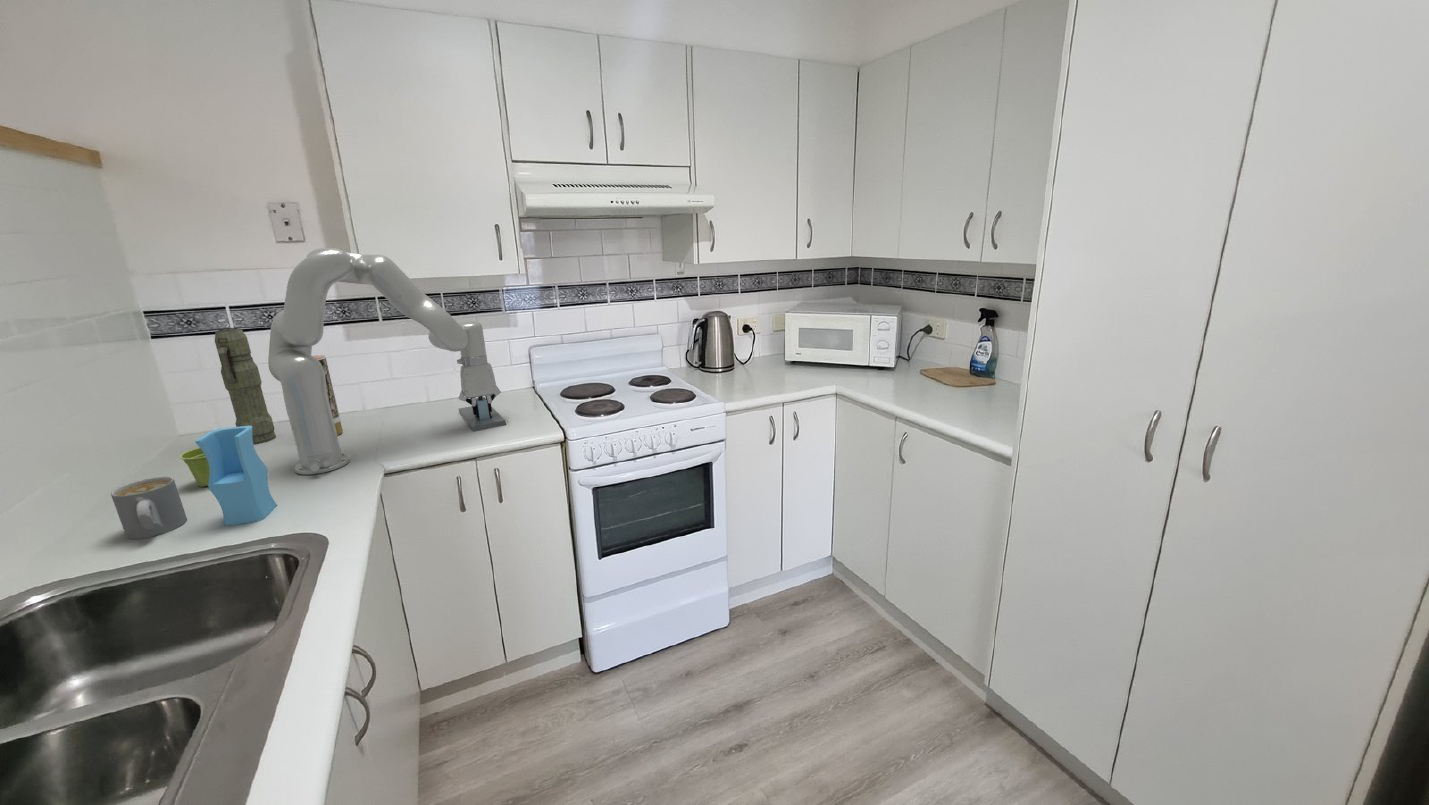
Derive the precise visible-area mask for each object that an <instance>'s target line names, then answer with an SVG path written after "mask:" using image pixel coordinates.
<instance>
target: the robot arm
mask: <svg viewBox="0 0 1429 805" xmlns="http://www.w3.org/2000/svg"><path fill="white" fill-rule="evenodd" d="M337 282H338V283H345V284H346V283H347V284H355V285H356V284H359V285H368V286H369V285H371V286H373V287H374V288H375V290H377V291H378V292H379V293H380V294H382V296H383V298H385V299H387V301H388V302H389V303H390V304H391V305H392V306H393V307H395V309H396V310H397V311H399V312H400V313H401V314H403V315H404V316H405V317H406V318H409V319H411V320H413V321H415V322H416V323H418V324H420V325H422V326H423V327H425V329H427V330H429V332H428V340H429V342H430V344H431V345H432V346H433V347H436V348H438V349H441V350H444V351H445V350H446V351H449V352H453V353H454V352H455V353H456V352H460V358H458V359H456V363H457V364H458V365H461V366H460V371H459V372H460V376H459V377H460V385H461V387H460V388H461V390H460V393H459V395H458V399H459V401H462V402H465V403H468V405H470V406H472V408H473V414H474V415H476V417H477V418H479V412H478V406H477V404H476V398H478V397H480V396H483V397H485V398H486V399H487V403H488V410H489V416H490V415H491V413H490V412H492V407H493V406H492V403H493V402H492V401H494V399H495V398H496V397H497V396H499V395H500V394H501V393H502V392H501V390H500V388H499V387H498V386H497V382H496V378H495V377H496V376H495V375H494V374H495V373H494V369H493V366H492V364H491V363H490V362H488V356H487V349H486V343H485V336H484V331H483V329H484V328H483V324H482V323H481V322H479V321H465V322H460V323H459V322H457V320H456V319H455V318H454V317H453V316H452V315H451V314H450V313H449V312H448V311H446V310H445V309H444V308H443V307H441V305H439V304H438V303H437V302H435V301H434V300H433V299H432V298H431V297H430V296H428V295H427V294H425V293H424V292H423V290H421V289H420V288H419V287H418V286H417V285H416V284H415V282H414V281H413V280H412V279H411V278H410V277H409V276H408V275H406V273H405V272H404V271H403V270H402V269H401V268H400V267H399V266H398V265H397V264H396V263H395V262H394V261H393V260H392V259H391V258H390V257H387V256H386V255H381V254H365V253H355V252H349V251H348V252H346V251H345V250H342V249H340V248H335V247H326V248H324V247H323V248H322V247H321V248H317V249H316V248H315V249H313V250H312V251H309V252H308V254H307V255H306V258H304V259H303V260H301V261H300V262H299V263H298V264H297V265H296V266H295V267H294V268H293V270H292V271H291V273H290V275H289V278H288V280H287V283H286V284H287V285H286V291H285V298H284V306H283V310H280V311H279V312H277V314H276V315H275V316H274V317H273V319H272V322H271V326H270V332H269V333H270V334H269V345H268V346H269V348H268V357H267V358H268V364H267V365H268V369H269V372H270V375H271V376H272V377H273V378H274V379H275V380H277V381H279V382H280V385H281V388H282V395H283V400H284V406H285V410H286V413H287V417H288V420H289V424H290V428H291V431H292V436H293V439H294V443H295V444H294V445H295V447H296V451H297V454H298V459H299V462H298V463H297V464H295V466H294V470H295V473H296V474H299V475H303V476H304V475H306V476H308V475H309V476H310V475H317V474H323V473H327V472H332V471H335V470H337V469H339V468H342V467H344V466H346V465H348V464H349V462H350V456H349V455H348V454H346V453H342V450H341V449H342V448H341V446H340V442H339V438H338V435H337V433H336V428H335V424H334V420H333V416H332V411H331V408H330V404H329V399H328V394H327V388H326V378H325V372H324V369H323V367H322V365H321V363H320V362H319V361H318V360H317V359H316V358H315V357H313V356H314V355H312V351H313V350H312V349H313V346H315V345H318V344H319V342H320V341H321V340H322V338H323V335H324V326H325V324H324V322H325V310H326V309H325V308H326V301H327V296H328V293H329V290H330V289H331V288H332V287H333V285H334V284H335V283H337ZM491 406H492V407H491Z"/></svg>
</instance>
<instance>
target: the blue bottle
mask: <svg viewBox="0 0 1429 805" xmlns="http://www.w3.org/2000/svg"><path fill="white" fill-rule="evenodd" d="M476 404H477V406H478V412H479V418H478V421H480V420H485V419H490V417H489V410H488V403H487V399H486V397H485V396H480V397H476Z"/></svg>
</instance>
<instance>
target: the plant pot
mask: <svg viewBox="0 0 1429 805" xmlns="http://www.w3.org/2000/svg"><path fill="white" fill-rule="evenodd" d="M179 457H180V459H181V460H183V462H184V463H185V464H186V465H187V467H188V468H189V471H190V472H191V474H192V476H193V478H194V480H195V482H196V484H197V486H198V487H201V488H204V487H208V482H209V463H208V460H207V458H206V456H205V454H204V453H203V451H202V450H201V449H200V447H197V448H194V449H191V450H189V451H188V450H187V451H185V452H183V453H182V454H180V456H179Z"/></svg>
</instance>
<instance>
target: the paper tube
mask: <svg viewBox="0 0 1429 805" xmlns="http://www.w3.org/2000/svg"><path fill="white" fill-rule="evenodd" d="M312 356H313V357H315V358H316V359H317V360H318V361H319V362H320V363H321V365H322V367H323V369H324V372H325V378H326V388H327V394H328V399H329V404H330V408H331V411H332V416H333V420H334V424H335V428H336V433H337V436H340V435H342V433H343V427H342V426H343V425H342V422H341V418H340V414H339V408H338V405H337V400H336V396H335V395H336V394H335V392H334V387H333V383H332V378H331V373H330V371H329V370H330V369H329V367H328V366H329V365H328V362H327V358H326V355H322V354H321V355H318V354H317V355H312Z"/></svg>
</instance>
